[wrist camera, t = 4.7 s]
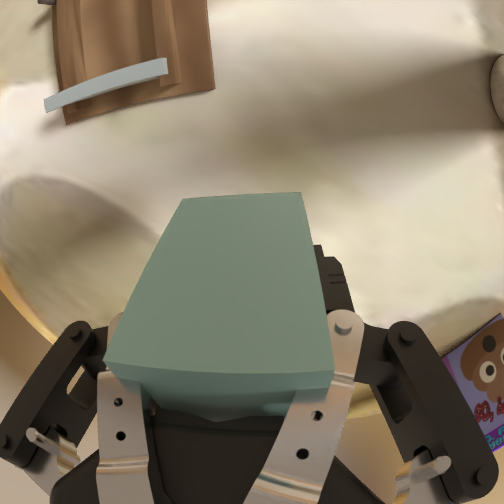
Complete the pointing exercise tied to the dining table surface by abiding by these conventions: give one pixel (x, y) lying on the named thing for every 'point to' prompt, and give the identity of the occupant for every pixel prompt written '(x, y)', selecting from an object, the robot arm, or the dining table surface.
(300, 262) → the block
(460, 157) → the dining table surface
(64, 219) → the dining table surface
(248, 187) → the dining table surface
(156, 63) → the gate
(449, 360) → the cereal box
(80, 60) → the housing
